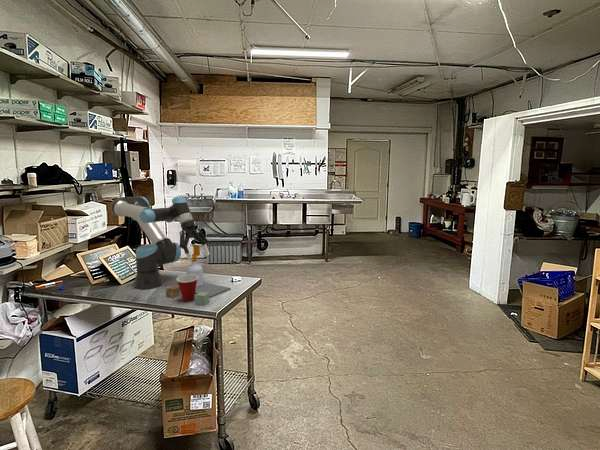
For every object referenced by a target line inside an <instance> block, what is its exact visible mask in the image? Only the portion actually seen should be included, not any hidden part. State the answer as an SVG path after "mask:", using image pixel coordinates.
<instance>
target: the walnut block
mask: <svg viewBox="0 0 600 450" xmlns="http://www.w3.org/2000/svg"><path fill="white" fill-rule="evenodd" d="M180 296H181V292H180V288H179V285H170V286H167V287H165V297H166V298H170V299H175V298H178V297H180Z"/></svg>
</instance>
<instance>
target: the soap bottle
mask: <svg viewBox="0 0 600 450" xmlns="http://www.w3.org/2000/svg"><path fill="white" fill-rule="evenodd" d="M189 246H192V247H193V249H192V250H193V254H191V255H192V258H191V264H190V265H188V266H187V267H186V275H189V274H192V275H197V276H198V279H197V283H196V288H198V287H201V286H204V269H203V266H202V265H201V264H198V259H197V258H198V257H199V256H200V254H201V246H200V245H199V244H193V243H190V244H189Z"/></svg>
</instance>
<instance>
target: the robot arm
mask: <svg viewBox="0 0 600 450" xmlns="http://www.w3.org/2000/svg"><path fill="white" fill-rule="evenodd" d="M171 203H172V204H171V205H170V206H168V207H158V208H151V206H150V202H149V200H148V198H146V197H144V196H140V195H137V196H136V195H135V196H120V197H117V198H115V199H113V200H112V202H111V203H110V204H109V210H110V212H111V213H112V214H113V215H114V216H117V217H128V218H131V219H132V220H133V221H136V222H137V223H138V225H139V226H140V228H141V229H142V231H143V232H144V234H145V235H146V237H147V238H148V239H149V241H150V242H151V243H147V244H143V245H140V246H138V247H136V249H135V255H134V256H135V264H136V276H135V278H134V279H135V280H134V283H133V286H134V288H135V287H136V288H135V289H137V288H139V289H138V290H150V289H155V288H159V287H161V286H162V285H163V279H162V277H161V274H160V271H159V266H163V265H167V264H171V263H172V264H173V263H176V262H178V261H179V260H180V258H181V255H182V250H183V251H184V254H185V255H186V257H187V260H188V261H190V260H192V259H193V258H192V255H193V254H192V252H191V250H190V247H189V246H188V244H189V242H190V239H195V240H196V241H197V242H199V243H200V244H201V245H202V250H203V252H204V255H205V257H208V256H209V255H211V254H210V251H209V246H208V244H209V243H210V242H209V240H208V238H207V237H206V236H205V234H203V232H202V230H201V229H200V228H197V229H196V224H195V223H196V222H195V220H194V218H193V215H192V212H191V209H190V207H189V204H188V201H187V199H186V197H185V196H184V195H177V196H175V197H173V198H172V199H171ZM176 219H178V222H179V224H180V227H181V230H180V231H179V232H178V233H179V243H178V242H174V241H172V240H171V238H169V237H166V236H165V234H164V232H163V231H162V230H161V229H160V227H159V226H158V224H157V223H158V222H166V223H168V224H169V223H172V222H174V221H176Z"/></svg>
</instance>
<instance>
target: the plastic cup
mask: <svg viewBox="0 0 600 450" xmlns="http://www.w3.org/2000/svg"><path fill="white" fill-rule="evenodd" d="M197 279H198V276H197V275H192V274H189V275H187V274H183V275H179V276H178V277H176V279H175V280H176V281H177V284H178V286H179V288H180V296H181V299H182V301H183V302H191V301H192V302H193V301H195V295H196V294H195V291H196V288H197V287H196V283H197Z"/></svg>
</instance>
